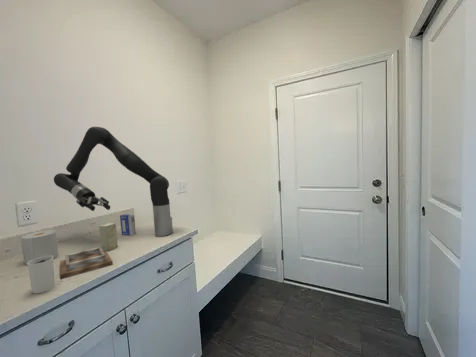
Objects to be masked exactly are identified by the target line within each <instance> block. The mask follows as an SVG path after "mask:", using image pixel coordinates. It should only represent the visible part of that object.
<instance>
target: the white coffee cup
mask: <svg viewBox="0 0 476 357" xmlns="http://www.w3.org/2000/svg"><path fill="white" fill-rule="evenodd" d="M26 265H27V270H28V277H29V280H30V286H31V291H32V294H36V293H37V294H43V293H45V291H46V292H47V291H48V292H49V291H50V290H52V289H53V288H55V287H56V284H55V266H54V265H55V264H54V259H53V256H44V257H39V258H36V259H33V260H31V261H29V262H28V263H27V264H26Z"/></svg>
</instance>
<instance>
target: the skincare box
mask: <svg viewBox="0 0 476 357" xmlns="http://www.w3.org/2000/svg"><path fill="white" fill-rule="evenodd" d="M116 226H117V225H116V222H107V223H105V224H101V225H99V226H98V228H99V229H98V230H99V236H100V237H99V238H100V247H101V248H102V250H103V251H104V250H106V251H107V252H110V251H112V250H113V249H116V248H117V247H119V246H118V235H117V234H118V233H117V227H116Z"/></svg>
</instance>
